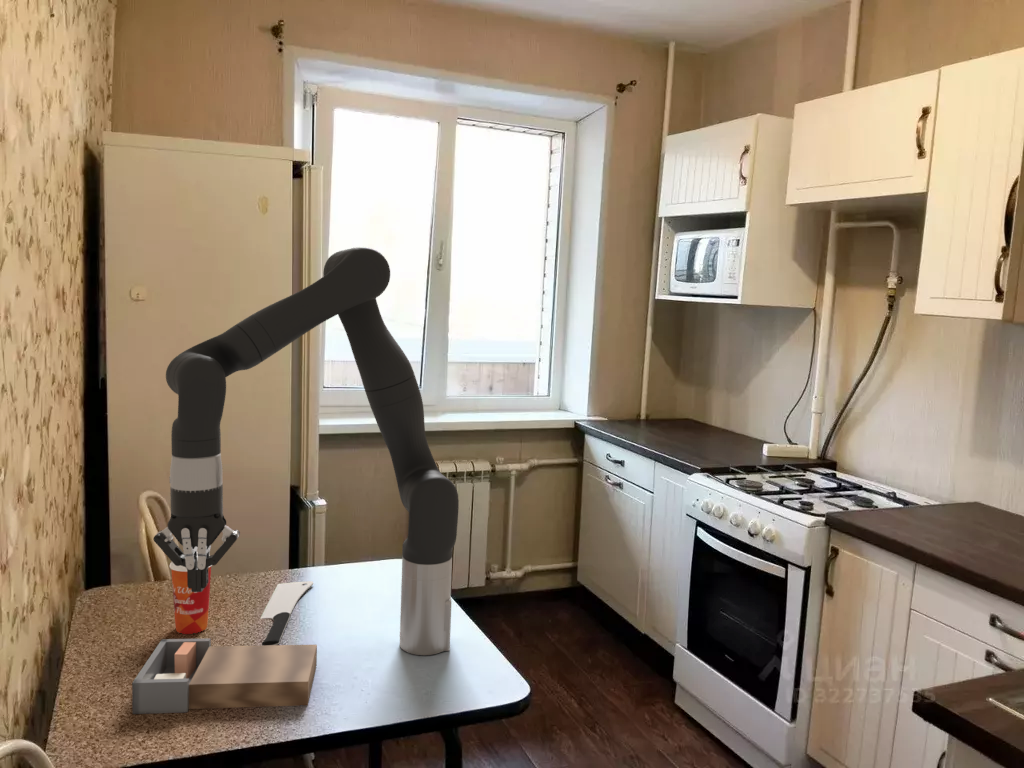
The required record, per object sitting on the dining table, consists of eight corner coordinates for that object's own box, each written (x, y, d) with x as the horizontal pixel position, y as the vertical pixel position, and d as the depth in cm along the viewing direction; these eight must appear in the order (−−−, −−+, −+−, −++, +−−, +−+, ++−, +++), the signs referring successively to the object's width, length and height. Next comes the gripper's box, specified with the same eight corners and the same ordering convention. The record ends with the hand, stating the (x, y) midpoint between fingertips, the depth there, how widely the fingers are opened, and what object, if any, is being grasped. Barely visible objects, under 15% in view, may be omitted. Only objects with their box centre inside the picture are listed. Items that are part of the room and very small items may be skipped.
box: (210, 665, 135) (210, 638, 135) (187, 712, 121) (187, 681, 120) (162, 667, 134) (161, 639, 134) (132, 713, 120) (132, 683, 119)
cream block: (156, 674, 127) (156, 685, 127) (148, 687, 123) (148, 700, 123) (185, 672, 128) (185, 684, 128) (179, 686, 123) (179, 698, 124)
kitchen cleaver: (268, 581, 173) (314, 576, 174) (269, 588, 174) (314, 584, 174) (229, 645, 143) (284, 639, 143) (230, 654, 143) (285, 648, 143)
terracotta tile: (196, 642, 133) (184, 642, 133) (186, 654, 129) (174, 654, 129) (196, 667, 134) (184, 667, 134) (187, 680, 129) (174, 680, 129)
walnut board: (316, 666, 137) (316, 644, 137) (307, 705, 124) (308, 681, 124) (209, 668, 134) (209, 646, 134) (189, 708, 122) (189, 684, 121)
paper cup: (160, 633, 147) (160, 561, 145) (186, 617, 154) (186, 548, 153) (197, 639, 145) (197, 566, 143) (222, 623, 152) (222, 553, 151)
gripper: (246, 476, 125) (246, 580, 127) (159, 476, 123) (160, 582, 126) (236, 488, 118) (236, 598, 120) (143, 488, 116) (145, 600, 118)
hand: (197, 590), depth 123 cm, fingers closed
